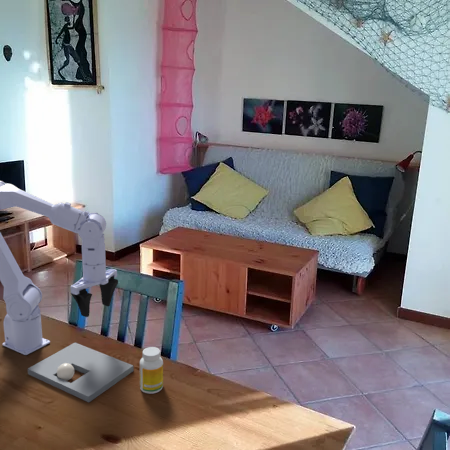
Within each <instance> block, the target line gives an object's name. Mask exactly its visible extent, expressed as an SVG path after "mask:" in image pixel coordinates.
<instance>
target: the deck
mask: <svg viewBox="0 0 450 450" xmlns="http://www.w3.org/2000/svg"><path fill="white" fill-rule="evenodd" d="M64 363H69V364H71V365H72V366H73V367H74V371H76V372H79V373H81V374H83V375H82V376H80V377H78V378H77V379H75V380H73V381H72V382H70V381H68V380H67V381H65V380H63V379H61V378H59V377H58V376H57V369H58V367H59V366H60V365H62V364H64ZM133 372H134V365H133V364H131V363H129V362H126V361H123V360H121V359H118V358H115V357H113V356H110V355H108V354H105V353H104V352H100V351H98V350H95V349H93V348H91V347H87V346H85V345H83V344H80V343H78V342H73V343H71V344H70V345H68V346H65V347H64V348H62V349H60V350H59V351H57V352H56V353H52V355H50V356H48V357H46V358H44V359H43V360H41V361H39V362H37V363H35V364H34V365H31V366H30V367H28V368H27V375H29V376H31V377H33V378H35V379H37V380H40V381H42V382H44V383H46V384H48V385H51V386H53V387H54V388H56V389H59V390H61V391H63V392H66V393H67V394H70V395H72V396H74V397H75V398H78V399H80V400H82V401H85V402H87V403H90V402H92V401H93V400H95V399H96V398H97V397H98V396H101V395H102V394H103V393H105V392H106V391H107V390H109V389H110V388H112V387H113V386H114V385H115V384H117V383H120V381H121V380H123V379H124V378H126V377H127V376H128V375H130V374H131V373H133Z"/></svg>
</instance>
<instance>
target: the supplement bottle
mask: <svg viewBox="0 0 450 450" xmlns="http://www.w3.org/2000/svg"><path fill="white" fill-rule="evenodd" d="M163 387H164V360H163V358H162V357H161V350H160V348H158V347H155V346H148V347H146V348H144V349H143V350H142V357H141V358H140V360H139V388H140V390H141V392H143V393H144V394H148V395H149V394H156V393H160V391H161V390H162V389H163Z"/></svg>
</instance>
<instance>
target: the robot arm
mask: <svg viewBox="0 0 450 450" xmlns="http://www.w3.org/2000/svg"><path fill="white" fill-rule="evenodd" d="M71 205H72V203H70V202H67V201H66V202H65V203H63V202H58V203H56V204H54V203H52V202H49V201H47V200H45V199H42V198H41V197H38V196H36V195H33V194H32V193H29V192H28V191H25V190H22V189H20V188H18V187H17V186H16V185H14V184H12V183H7V182H4V181H3V180H0V211H1V210H6V209H10V208H11V209H12V208H14V207H17V208H20V209H23V210H25V211H29V212H32V213H35V214H38V215H41V216H44V217H46V218H48V219H49V221H50V223H51V224H52V225H53V226H56V227H59V228H61V229H64V230H67V231H70V232H72V233H74V234H78V235H79V237H80V238H81V261H82V277H81V278H80V279H79V280H78V281H76V282H75V283H74V284H71V285H70V294H71V296H72V297H73V299H74V300H75V302H76V304H77V306H78V309H79V312H80V315H81V316H82V317H85V318H89V317H90V313H91V312H90V309H91V308H90V303H91V299H92V297H93V294H92V293H90V292H88V289H89V288H92V287H94V286H99V289H100V295H101V303H102V305H103V306H106V307H110V306H111V303H112V298H113V295H114V292H115V290H116V287H117V285H118V284H119V279H116V278H117V277H118V270H117V269H114V268H109V269H107V267H106V266H107V265H106V260H107V259H106V243H105V241H106V239H105V233H104V232H105V231H106V228H107V221H106V219H105V218H104V216H103V215H101V214H99V213H98V212H96V211H95V212H90V211H89V210H84V211H83V210H81V209H79V208H76V207H73V206H71ZM0 283H1V285H2V287H3V296H2V299H3V300H4V302H5V305H6V306H5V311H6V315H5V316H4V319H3V332H4V340H5V341H4V342H3V343H2V346H3V347H6V348H8V349H10V350H12V351H15V352H17V353H20V354H21V355H24V356H27V355H29V354H32V353H33V352H35V351H37V350H39V349H41V348H43V347H45V346H47V345H48V344H49V345H50V343H51V340H49V339H46V338H44V337H43V330H42V329H43V326H42V313H41V309H40V306H39V304H40V303H41V301H42V300H43V292H42V290H41V289H40V287H38V286H37V285H35V284H34V282H33V281H32V279H31V278H29V277H27V276H25V275H24V274H23V271H22V270H21V268H20V266H19V264H18V263H17V260H16V258H15V256H14V255H13V253H12V250H11V249H10V247H9V245H8V244H7V242H6V240H5V238H4V237H3V235H2V232H0Z"/></svg>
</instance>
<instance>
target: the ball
mask: <svg viewBox="0 0 450 450" xmlns="http://www.w3.org/2000/svg"><path fill="white" fill-rule="evenodd" d="M57 376H58V377H59V378H61V379H63V380H65V381H67V382H68V381H69V380H71V379H72V378H73V377H74V376H75V370H74V367H73V366H72V365H71V364H69V363H64V364H62V365H60V366H59V367H58V369H57Z"/></svg>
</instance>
